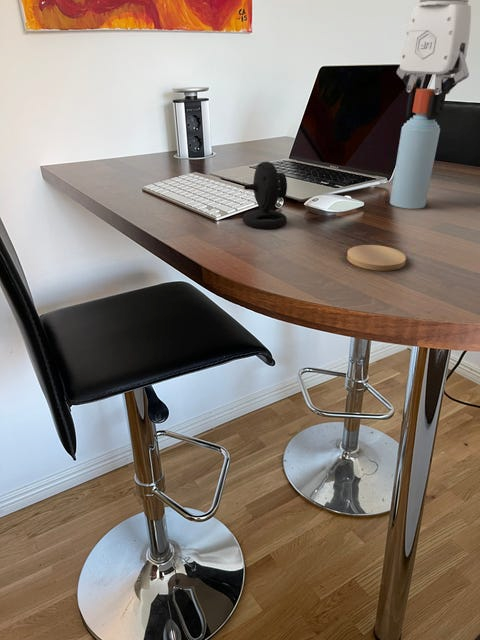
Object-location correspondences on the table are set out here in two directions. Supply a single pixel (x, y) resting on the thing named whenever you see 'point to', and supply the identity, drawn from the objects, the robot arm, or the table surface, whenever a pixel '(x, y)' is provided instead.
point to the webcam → (266, 197)
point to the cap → (422, 100)
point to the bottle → (414, 162)
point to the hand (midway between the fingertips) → (423, 116)
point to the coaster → (376, 257)
